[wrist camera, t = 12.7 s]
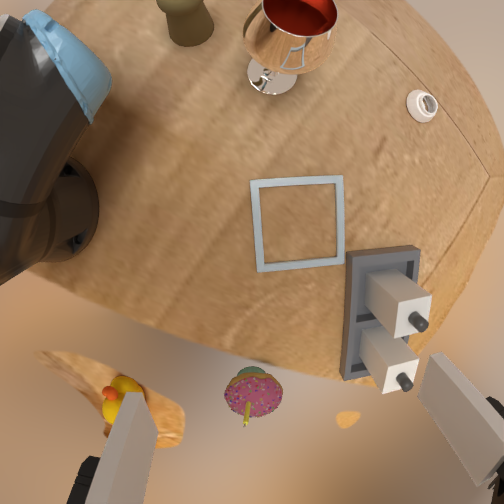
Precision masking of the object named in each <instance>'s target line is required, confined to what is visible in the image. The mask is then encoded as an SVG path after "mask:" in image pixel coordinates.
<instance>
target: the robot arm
mask: <svg viewBox="0 0 504 504" xmlns="http://www.w3.org/2000/svg"><path fill="white" fill-rule="evenodd" d="M22 19H23V20H22V21H19V20H17V19H15V18H14V17H12V16H10V15H8V14H4V15H2V16H0V286H1V285H2V284H4V283H5V282H7V281H8V280H10V279H11V278H13V277H15V276H16V275H18V274H19V273H21V272H23V271H24V270H26V269H28V268H29V267H31V266H32V265H34V264H36V263H37V262H61V261H64V260H67V259H69V258H71V257H73V256H74V255H76V254H78V253H79V252H80V251H82V250H83V249H84V248H85V247H86V246H87V245H88V243H89V242H90V240H91V238H92V237H93V235H94V232H95V229H96V226H97V222H98V214H99V203H98V196H97V191H96V188H95V185H94V182H93V180H92V178H91V176H90V175H89V173H88V172H87V170H86V169H85V168H84V167H83V166H82V165H81V164H80V163H79V162H77V161H76V160H74V159H72V158H70V155H71V153H72V151H73V150H74V148H75V146H76V145H77V143H78V141H79V140H80V138H81V136H82V135H83V133H84V132H85V130H86V128H87V127H88V125H89V124H90V125H91V124H92V123H93V121H94V115H95V114H96V112H97V111H98V109H99V107H100V106H101V104H102V103H103V101H104V100H105V98H106V97H107V95H108V94H109V92H110V89H111V86H112V77H111V74H110V72H109V70H108V69H107V67H106V66H105V65H104V63H103V62H102V61H101V60H100V59H99V58H98V57H97V56H96V55H95V54H94V53H93V52H92V51H91V50H90V49H89V48H88V47H87V46H86V45H85V44H84V43H83V42H82V41H80V40H79V39H78V38H77V37H76V36H75V35H73V34H72V33H71V32H70V31H69V30H67V29H66V28H65V27H64V26H61V25H59V23H58V22H56V21H55V20H53V19H52V18H51V17H50V16H49V15H48V14H46V13H44V12H43V11H40V10H37V9H35V10H31V11H30V12H29V13H28V14H25V15H24V17H23V18H22ZM417 397H418V398H419V400H420V401H421V402H422V404H423V405H424V407H425V408H426V410H427V411H428V413H429V414H430V416H431V417H432V418H433V420H434V421H435V423H436V424H437V426H438V427H439V429H440V430H441V432H442V433H443V435H444V436H445V438H446V439H447V441H448V442H449V444H450V445H451V447H452V448H453V450H454V452H455V453H456V454H457V456H458V458H459V459H460V461H461V462H462V464H463V465H464V467H465V469H466V470H467V472H468V473H469V475H470V477H471V478H472V480H473V481H474V483H475V485H476V486H479V485H481V484H482V483H484V482H486V481H487V480H489V479H490V478H491V477H492V475H493V474H494V473H495V472H497V473H498V476H497V477H496V478H495V479H494V480H493V481H492V482H491V484H490V485H489V487H488V489H490V488H491V487H492V486H493V485H494V484H495V486H494V488H493V489H494V492H493V497H492V502H491V504H504V407H503V406H502V405H501V403H500V402H499V401H497V400H496V399H494V398H492V397H490V396H489V397H488V398H485V397H484V396H483V395H482V394H481V393H480V392H479V391H478V390H477V389H476V387H475V386H474V385H473V384H472V383H471V382H470V381H469V380H468V379H467V378H466V377H465V376H464V374H463V373H462V372H460V370H459V369H458V368H457V367H456V366H455V365H454V364H453V363H452V362H451V361H450V360H449V359H448V358H447V357H446V356H445V355H444V353H442V352H439V353H436V354H432V355H430V356H429V360H428V363H427V367H426V370H425V374H424V377H423V380H422V384H421V387H420V390H419V393H418V396H417ZM157 436H158V430H157V427H156V425H155V423H154V421H153V418H152V416H151V413H150V411H149V409H148V406H147V404H146V401H145V399H144V396H143V393H142V392H126V394H125V396H124V399H123V401H122V404H121V406H120V409H119V411H118V414H117V416H116V419H115V421H114V424H113V426H112V429H111V431H110V434H109V437H108V439H107V442H106V445H105V447H104V450H103V453H102V455H101V458H99V457H93V456H89V457H88V458H87V459H86V460H85V461H84V462H83V463H82V464H81V467H80V469H79V472H78V476H77V477H76V479H75V484H74V485H73V487H72V490H71V493H70V495H69V498H68V501H67V504H143V501H144V496H145V490H146V486H147V481H148V477H149V471H150V467H151V463H152V458H153V454H154V449H155V445H156V441H157Z"/></svg>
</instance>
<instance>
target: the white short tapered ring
mask: <svg viewBox="0 0 504 504" xmlns="http://www.w3.org/2000/svg"><path fill="white" fill-rule="evenodd" d="M423 99H424V100H425V101H426V103H427V105H428V112H427V111H426V110H425V105H424V103H423V102H422V100H423ZM407 108H408V111H409V113H410V114H411V116H412V117H413V118H414V119H415V120H416V121H418V122H421V123H424V122H429V121H430V120H431V119H432V118H433V117H434V115H435V113H436V111H437V108H438V106H437V102H436V100H435V98H434V97H433V96H432V95H430V94H428V93H426V92H424V91H421V90H413V91H412V92H410V93H409V94H408V97H407Z"/></svg>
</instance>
